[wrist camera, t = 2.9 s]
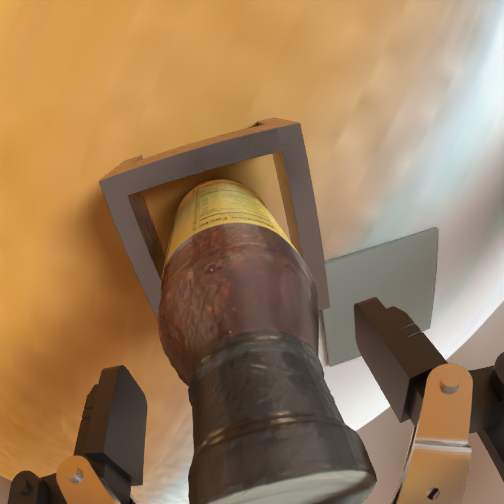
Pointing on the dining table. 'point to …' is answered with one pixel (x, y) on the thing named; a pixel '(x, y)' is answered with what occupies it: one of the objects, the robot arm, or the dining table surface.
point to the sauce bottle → (252, 359)
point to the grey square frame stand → (206, 158)
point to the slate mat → (379, 287)
